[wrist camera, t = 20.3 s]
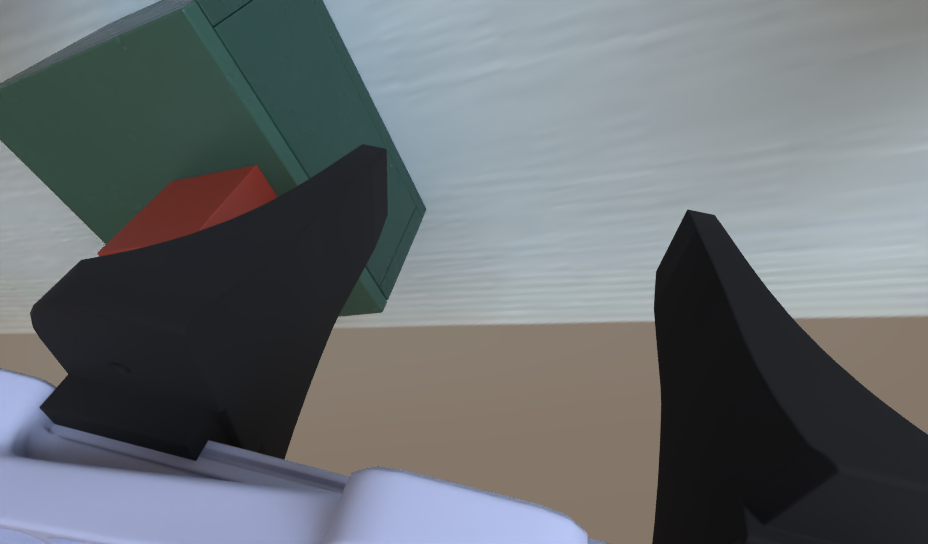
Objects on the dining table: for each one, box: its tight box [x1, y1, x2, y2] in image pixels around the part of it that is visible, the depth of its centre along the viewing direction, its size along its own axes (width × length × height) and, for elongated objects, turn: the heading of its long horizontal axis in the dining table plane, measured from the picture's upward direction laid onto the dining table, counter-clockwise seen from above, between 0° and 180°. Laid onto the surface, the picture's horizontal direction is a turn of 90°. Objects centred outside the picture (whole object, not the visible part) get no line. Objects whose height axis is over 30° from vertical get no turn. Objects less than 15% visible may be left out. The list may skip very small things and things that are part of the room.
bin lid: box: [0, 1, 387, 317], centre depth 21 cm, size 11×13×1 cm
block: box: [98, 165, 277, 256], centre depth 19 cm, size 4×4×4 cm
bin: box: [0, 0, 426, 300], centre depth 23 cm, size 11×13×6 cm
